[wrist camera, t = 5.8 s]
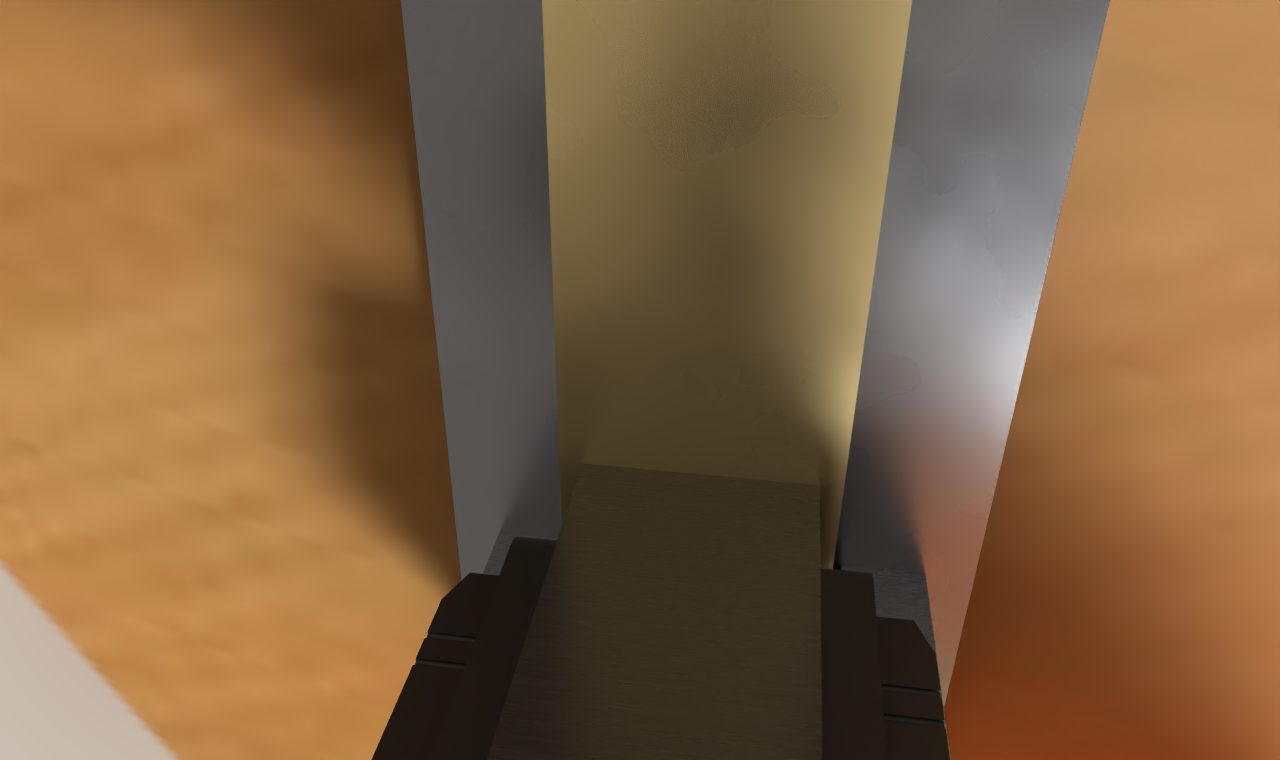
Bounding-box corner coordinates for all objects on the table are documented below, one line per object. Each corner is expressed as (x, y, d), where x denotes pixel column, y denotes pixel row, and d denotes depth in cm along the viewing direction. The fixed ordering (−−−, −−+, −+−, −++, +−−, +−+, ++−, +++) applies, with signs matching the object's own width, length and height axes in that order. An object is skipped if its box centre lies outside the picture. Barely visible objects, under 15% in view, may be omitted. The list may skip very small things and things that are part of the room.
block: (590, -441, 11) (76, -890, 3) (941, -445, 10) (1289, -967, 3) (603, 653, 19) (465, 1247, 12) (799, 675, 19) (790, 1306, 11)
